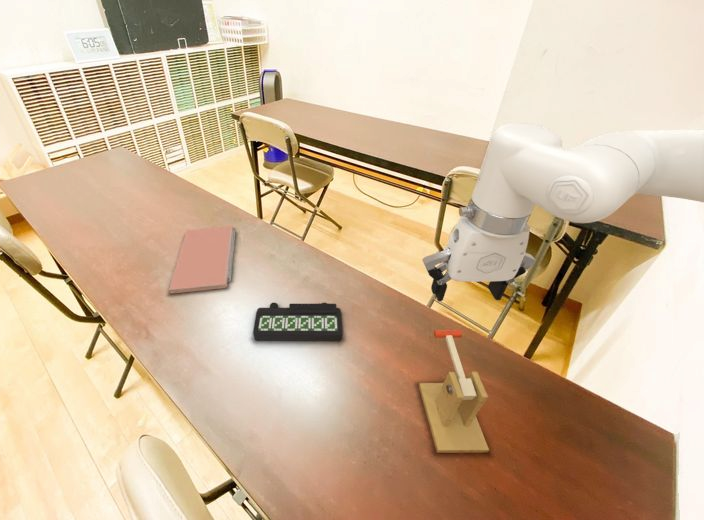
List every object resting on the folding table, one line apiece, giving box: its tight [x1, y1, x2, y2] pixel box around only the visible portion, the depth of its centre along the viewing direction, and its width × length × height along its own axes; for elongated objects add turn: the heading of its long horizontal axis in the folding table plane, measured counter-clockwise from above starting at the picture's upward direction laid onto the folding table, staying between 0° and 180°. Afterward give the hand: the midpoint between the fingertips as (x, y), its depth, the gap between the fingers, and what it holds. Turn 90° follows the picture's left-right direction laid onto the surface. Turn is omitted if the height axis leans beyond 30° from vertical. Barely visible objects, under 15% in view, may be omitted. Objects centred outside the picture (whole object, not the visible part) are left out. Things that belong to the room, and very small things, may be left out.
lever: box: [433, 329, 477, 400], centre depth 60 cm, size 12×5×2 cm, turn 0°
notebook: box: [168, 225, 237, 295], centre depth 101 cm, size 27×17×2 cm, turn 6°
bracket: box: [418, 371, 490, 454], centre depth 59 cm, size 12×9×13 cm
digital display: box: [252, 302, 343, 342], centre depth 80 cm, size 21×3×10 cm
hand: (465, 294), depth 56 cm, fingers open, 9 cm apart
